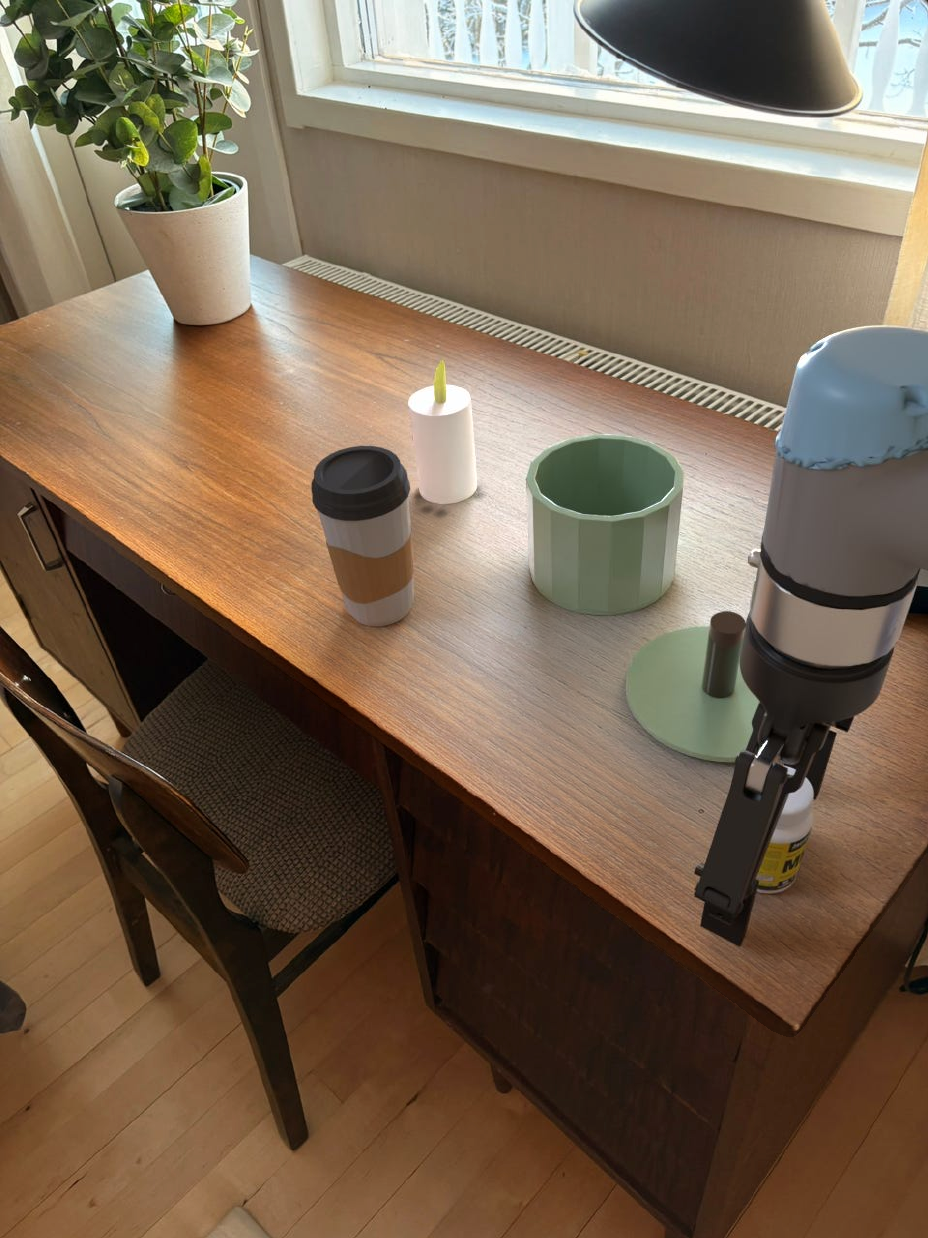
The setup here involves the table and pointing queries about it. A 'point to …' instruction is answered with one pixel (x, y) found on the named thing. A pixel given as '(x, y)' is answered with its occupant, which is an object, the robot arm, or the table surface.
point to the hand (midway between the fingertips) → (762, 856)
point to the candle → (443, 441)
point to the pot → (603, 523)
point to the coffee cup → (367, 531)
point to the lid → (695, 690)
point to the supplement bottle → (787, 841)
